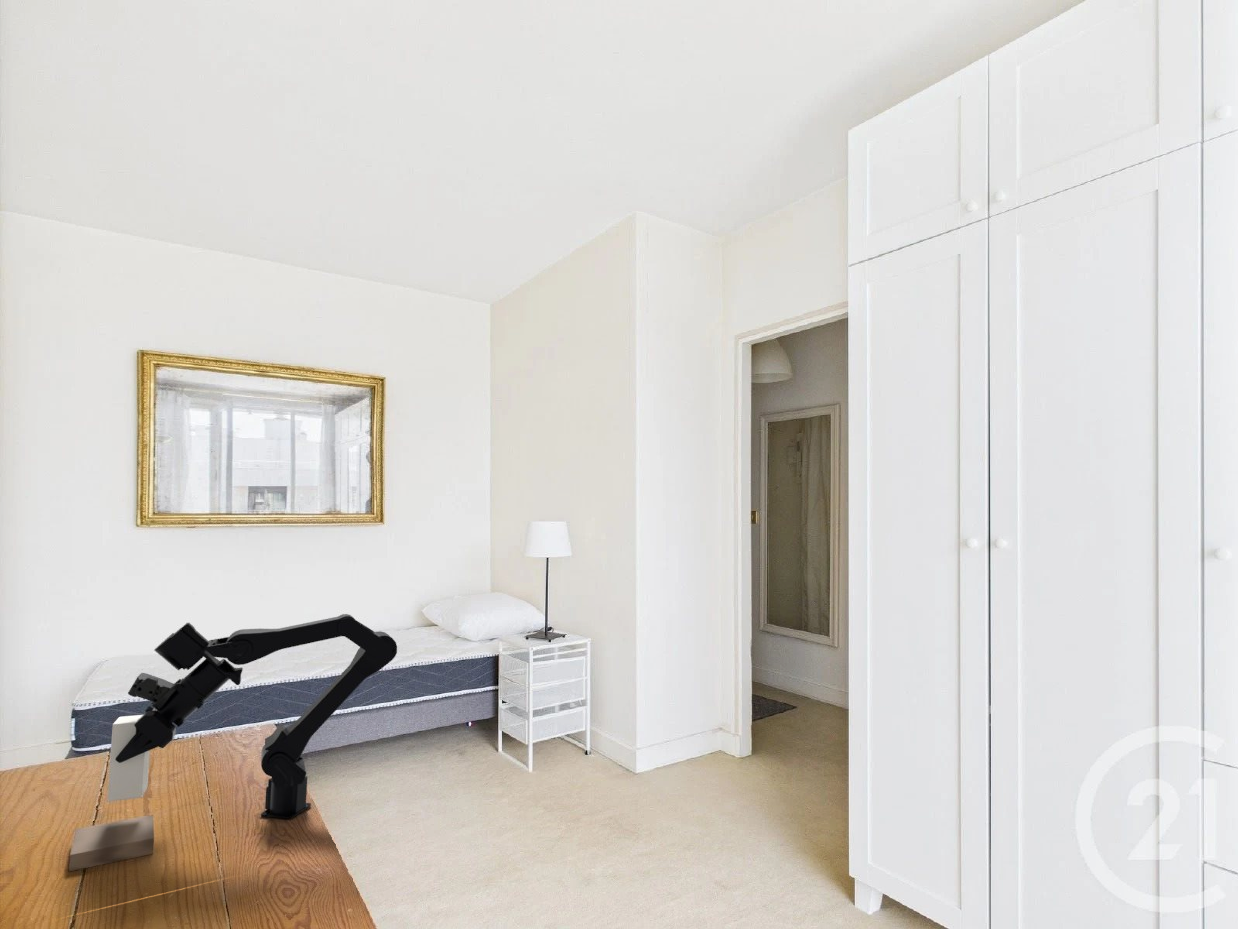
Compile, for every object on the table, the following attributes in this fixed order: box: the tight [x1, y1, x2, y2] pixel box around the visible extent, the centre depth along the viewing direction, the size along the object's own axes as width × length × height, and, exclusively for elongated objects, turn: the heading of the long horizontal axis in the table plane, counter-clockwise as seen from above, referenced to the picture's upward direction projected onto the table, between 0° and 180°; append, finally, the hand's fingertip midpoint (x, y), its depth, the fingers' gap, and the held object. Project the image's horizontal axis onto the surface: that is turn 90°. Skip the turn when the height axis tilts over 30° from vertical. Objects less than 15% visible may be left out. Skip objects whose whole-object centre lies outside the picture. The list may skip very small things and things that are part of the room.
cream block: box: [106, 714, 151, 803], centre depth 123 cm, size 5×5×13 cm
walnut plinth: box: [68, 814, 155, 872], centre depth 117 cm, size 11×11×2 cm
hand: (120, 756), depth 122 cm, fingers closed on cream block, 5 cm apart
